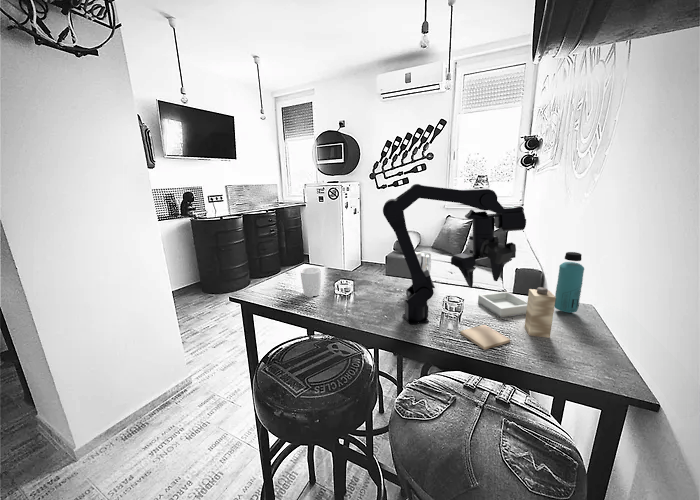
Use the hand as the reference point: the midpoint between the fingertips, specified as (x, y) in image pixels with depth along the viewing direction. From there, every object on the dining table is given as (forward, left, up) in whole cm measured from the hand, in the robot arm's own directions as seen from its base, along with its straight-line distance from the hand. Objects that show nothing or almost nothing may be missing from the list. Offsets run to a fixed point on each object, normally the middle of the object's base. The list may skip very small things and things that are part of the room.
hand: (483, 283), depth 87 cm
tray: (+13, +6, -12) cm, 19 cm away
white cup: (-50, +36, -13) cm, 63 cm away
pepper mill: (+11, -10, -12) cm, 19 cm away
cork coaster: (-5, -9, -12) cm, 16 cm away
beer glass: (-7, +28, -13) cm, 32 cm away
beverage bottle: (+29, -2, -13) cm, 32 cm away
